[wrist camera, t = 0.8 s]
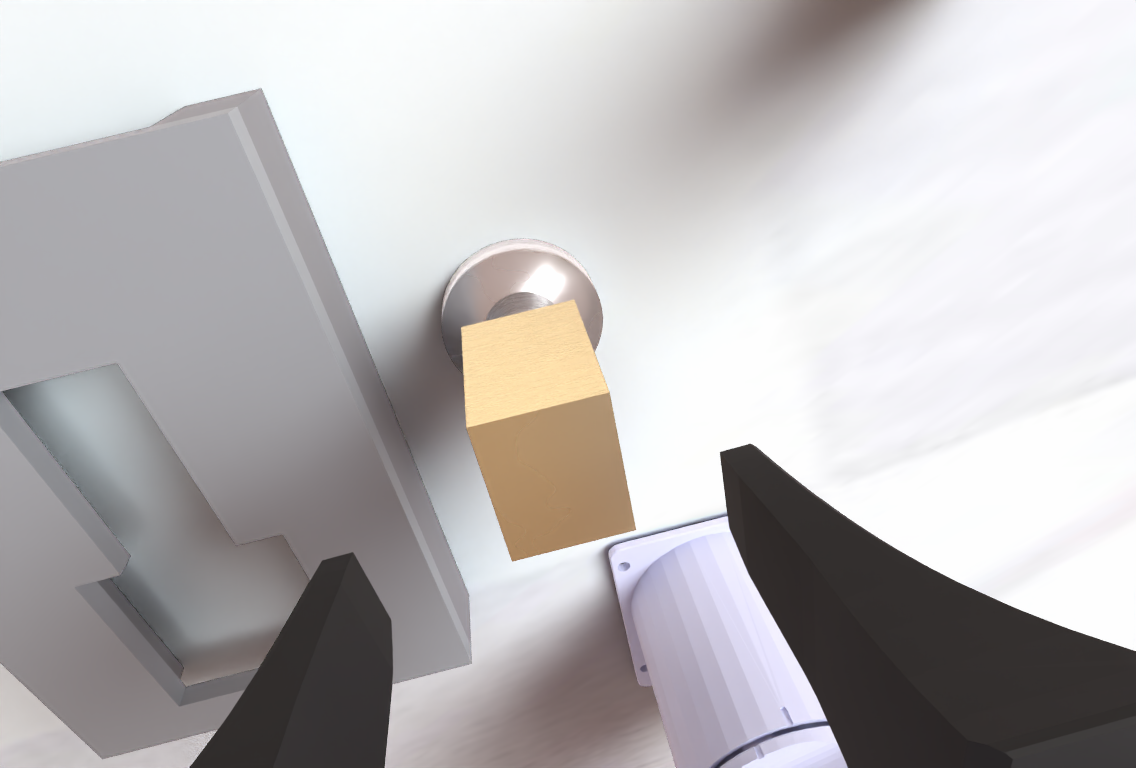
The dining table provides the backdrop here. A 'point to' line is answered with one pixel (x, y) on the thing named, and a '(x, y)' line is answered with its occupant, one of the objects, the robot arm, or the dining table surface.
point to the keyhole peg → (537, 395)
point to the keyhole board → (195, 409)
